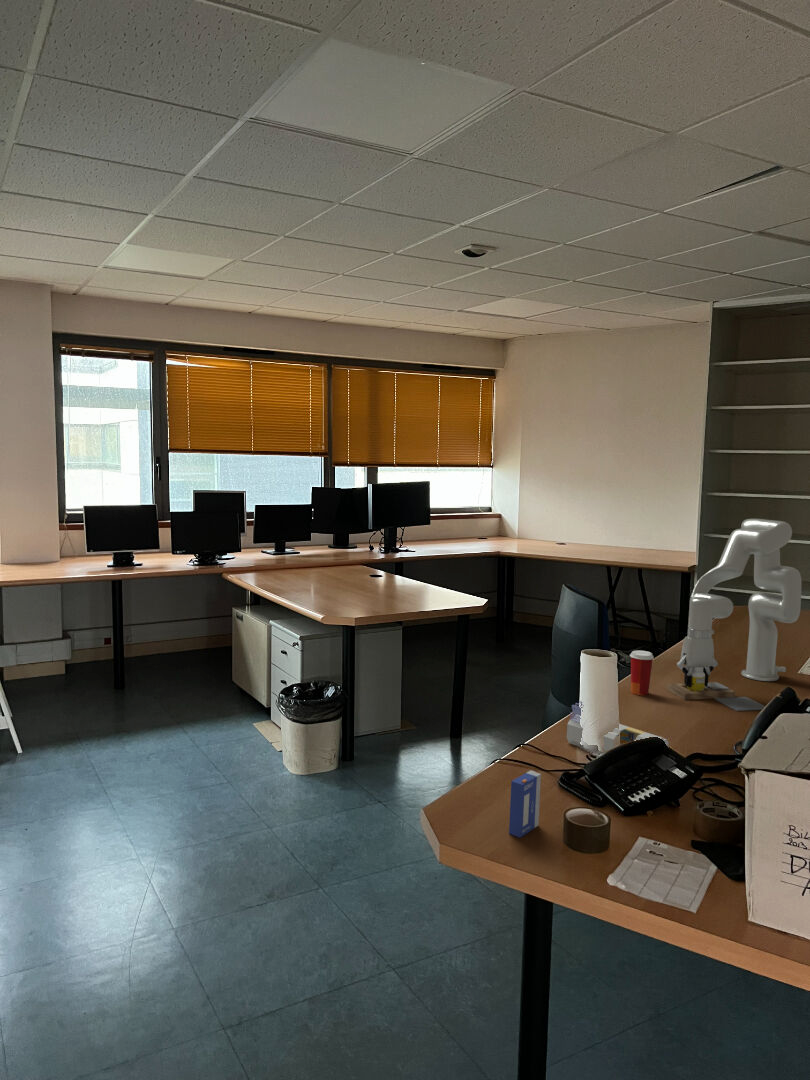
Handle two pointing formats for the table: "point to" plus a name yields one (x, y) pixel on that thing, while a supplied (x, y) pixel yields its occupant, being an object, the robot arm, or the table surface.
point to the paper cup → (640, 672)
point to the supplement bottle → (697, 679)
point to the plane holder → (709, 691)
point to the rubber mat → (740, 703)
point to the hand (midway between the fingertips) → (695, 685)
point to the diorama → (625, 735)
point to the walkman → (524, 803)
